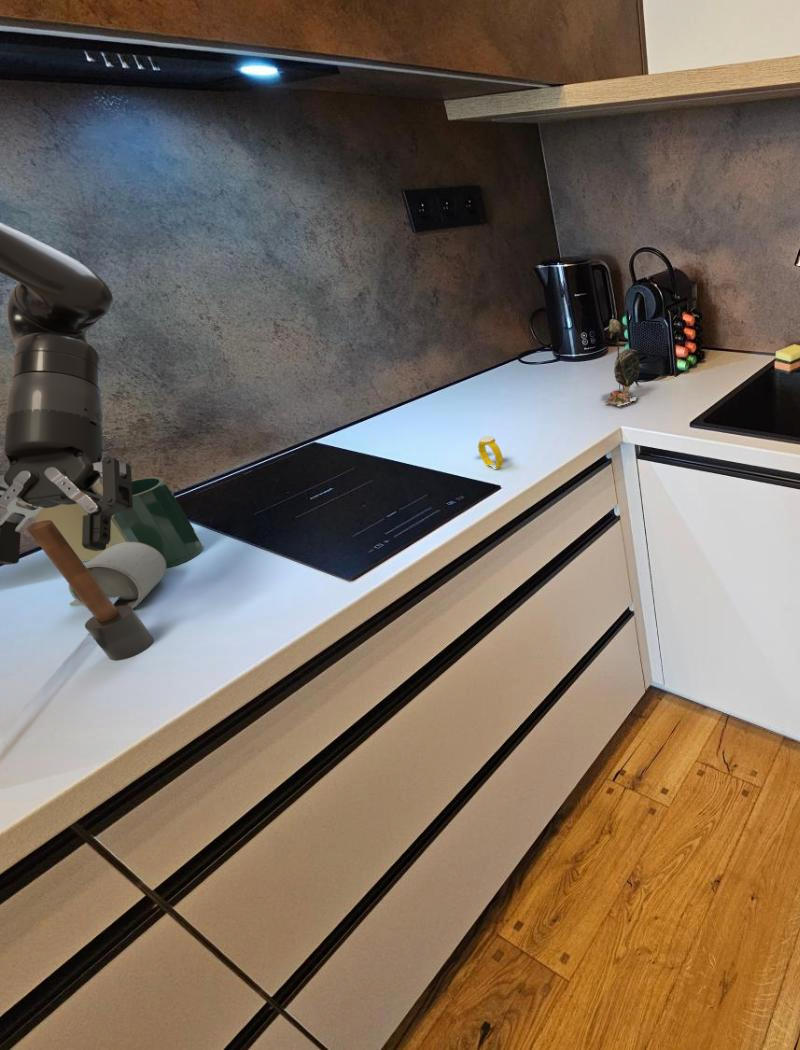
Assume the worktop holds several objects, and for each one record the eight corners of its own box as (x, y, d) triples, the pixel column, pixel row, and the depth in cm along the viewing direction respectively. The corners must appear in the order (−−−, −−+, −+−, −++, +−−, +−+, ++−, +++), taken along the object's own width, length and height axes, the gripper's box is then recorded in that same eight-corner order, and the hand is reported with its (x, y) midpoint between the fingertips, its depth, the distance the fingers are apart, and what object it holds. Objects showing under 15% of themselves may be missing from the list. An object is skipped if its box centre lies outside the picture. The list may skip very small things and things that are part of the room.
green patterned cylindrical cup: (134, 575, 88) (86, 505, 81) (156, 549, 94) (113, 482, 88) (193, 563, 89) (150, 494, 83) (211, 538, 96) (172, 473, 89)
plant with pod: (653, 397, 144) (644, 313, 133) (616, 410, 137) (604, 322, 127) (633, 391, 149) (623, 309, 138) (596, 403, 142) (583, 318, 132)
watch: (479, 466, 114) (471, 437, 111) (491, 461, 116) (483, 432, 113) (496, 473, 111) (489, 444, 108) (508, 468, 113) (501, 439, 110)
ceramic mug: (181, 574, 87) (151, 530, 83) (153, 606, 80) (120, 560, 76) (98, 590, 85) (64, 546, 81) (62, 625, 78) (23, 579, 74)
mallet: (101, 664, 71) (0, 538, 61) (119, 641, 74) (27, 519, 65) (144, 654, 72) (51, 529, 62) (160, 632, 75) (75, 511, 66)
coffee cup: (136, 527, 101) (95, 464, 94) (139, 547, 94) (95, 481, 88) (64, 550, 95) (15, 484, 89) (61, 572, 89) (9, 504, 83)
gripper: (-53, 416, 63) (-66, 561, 59) (99, 398, 66) (95, 536, 62) (16, 443, 70) (8, 574, 67) (150, 426, 73) (150, 551, 69)
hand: (50, 555), depth 64 cm, fingers open, 8 cm apart
